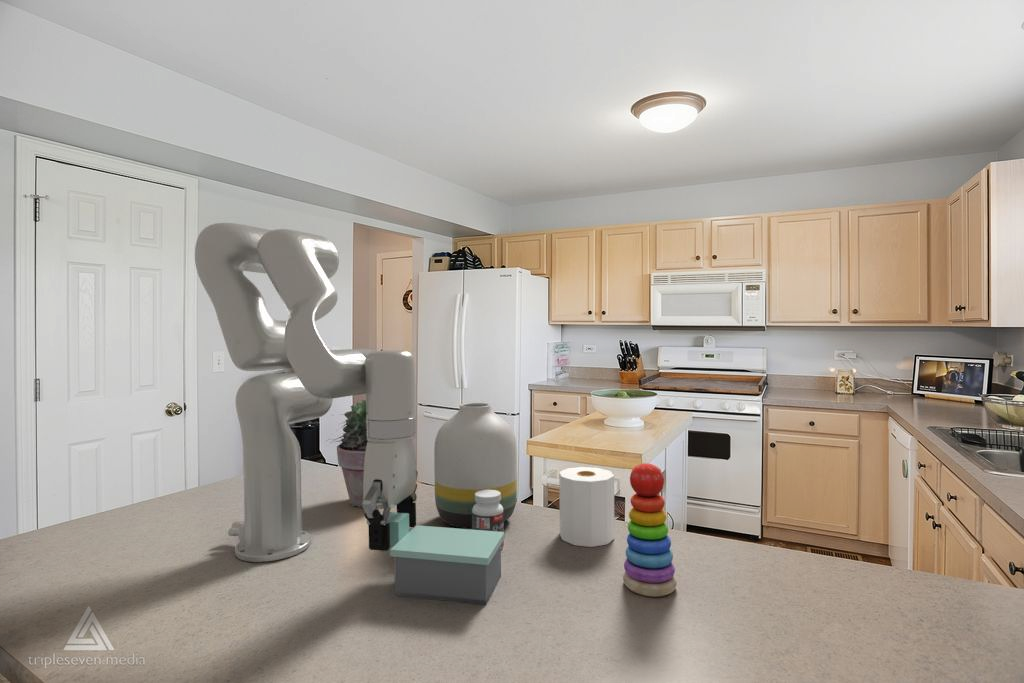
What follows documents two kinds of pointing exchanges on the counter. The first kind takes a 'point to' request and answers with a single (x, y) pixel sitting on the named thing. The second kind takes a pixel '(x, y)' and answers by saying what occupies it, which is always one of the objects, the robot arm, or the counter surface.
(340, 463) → the potted plant
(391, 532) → the mint slab with cube
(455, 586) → the tub
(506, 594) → the counter surface
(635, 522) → the stacking toy
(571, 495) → the toilet paper
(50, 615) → the counter surface
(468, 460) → the vase
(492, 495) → the pill bottle
